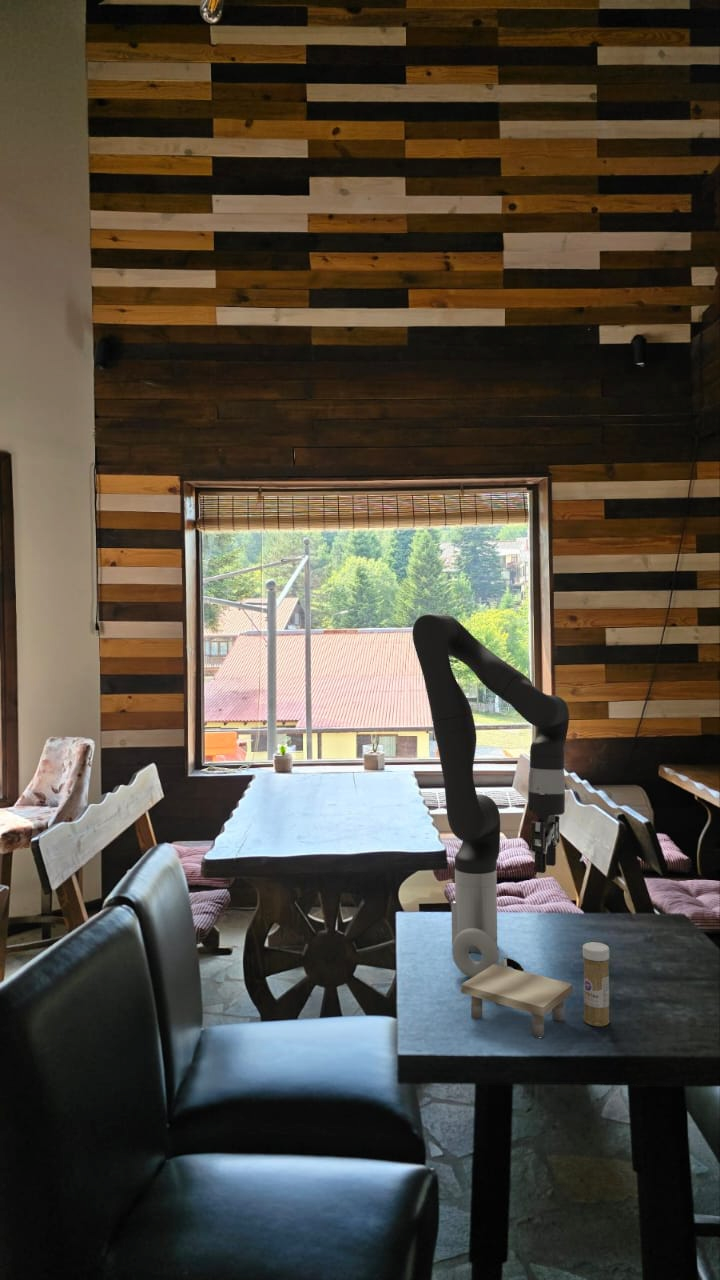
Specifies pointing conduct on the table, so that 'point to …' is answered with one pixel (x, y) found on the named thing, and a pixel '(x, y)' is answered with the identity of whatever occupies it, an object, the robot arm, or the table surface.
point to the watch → (511, 964)
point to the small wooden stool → (518, 994)
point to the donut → (480, 941)
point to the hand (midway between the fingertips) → (545, 868)
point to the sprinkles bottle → (596, 984)
